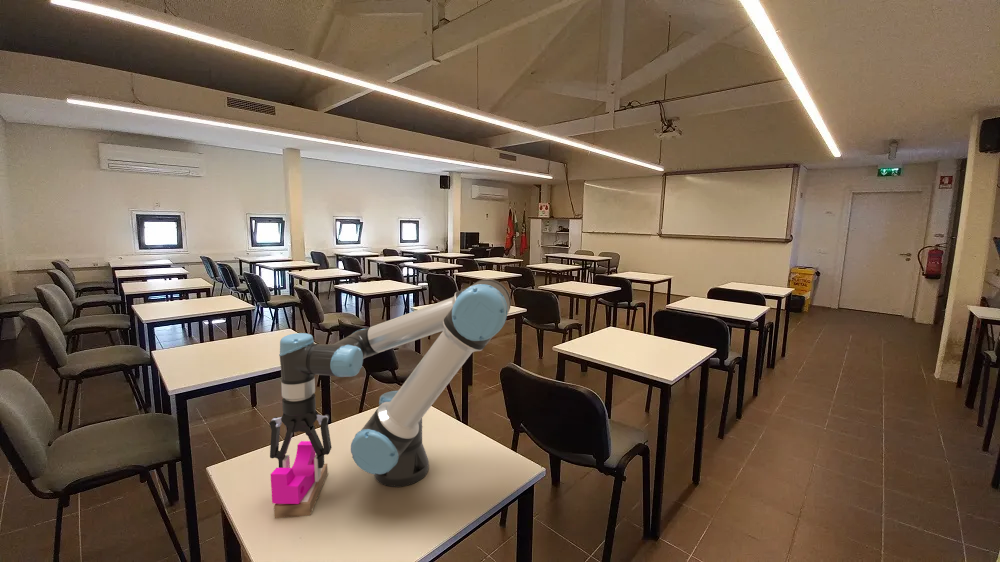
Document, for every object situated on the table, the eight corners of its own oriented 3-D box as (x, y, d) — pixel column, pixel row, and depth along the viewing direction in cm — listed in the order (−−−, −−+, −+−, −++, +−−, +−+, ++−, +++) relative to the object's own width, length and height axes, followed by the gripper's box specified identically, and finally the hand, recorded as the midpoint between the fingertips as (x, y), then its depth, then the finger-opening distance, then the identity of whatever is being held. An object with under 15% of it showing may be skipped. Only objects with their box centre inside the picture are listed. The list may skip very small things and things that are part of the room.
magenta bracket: (298, 503, 97) (297, 474, 96) (272, 503, 97) (270, 474, 96) (325, 467, 112) (324, 441, 111) (302, 466, 112) (301, 441, 111)
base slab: (327, 473, 115) (327, 463, 115) (310, 515, 99) (309, 503, 98) (297, 475, 114) (296, 465, 114) (274, 518, 97) (273, 506, 97)
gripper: (343, 387, 108) (345, 468, 111) (262, 391, 105) (267, 474, 108) (336, 399, 101) (339, 485, 104) (249, 403, 98) (255, 492, 101)
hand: (302, 480), depth 106 cm, fingers closed on magenta bracket, 7 cm apart
